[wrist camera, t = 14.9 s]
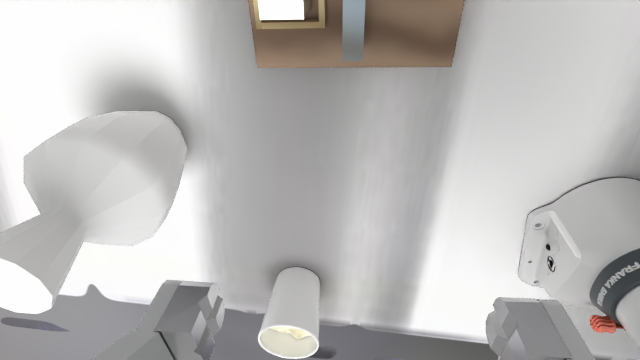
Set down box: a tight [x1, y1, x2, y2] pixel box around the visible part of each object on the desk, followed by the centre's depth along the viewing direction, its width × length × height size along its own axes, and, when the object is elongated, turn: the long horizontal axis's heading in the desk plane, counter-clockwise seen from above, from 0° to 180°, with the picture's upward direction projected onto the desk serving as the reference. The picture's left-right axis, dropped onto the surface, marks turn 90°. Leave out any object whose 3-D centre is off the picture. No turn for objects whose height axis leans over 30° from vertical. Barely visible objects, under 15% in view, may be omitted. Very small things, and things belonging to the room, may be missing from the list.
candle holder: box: [258, 267, 320, 359], centre depth 57 cm, size 10×10×12 cm
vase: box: [0, 111, 188, 314], centre depth 36 cm, size 14×14×25 cm
